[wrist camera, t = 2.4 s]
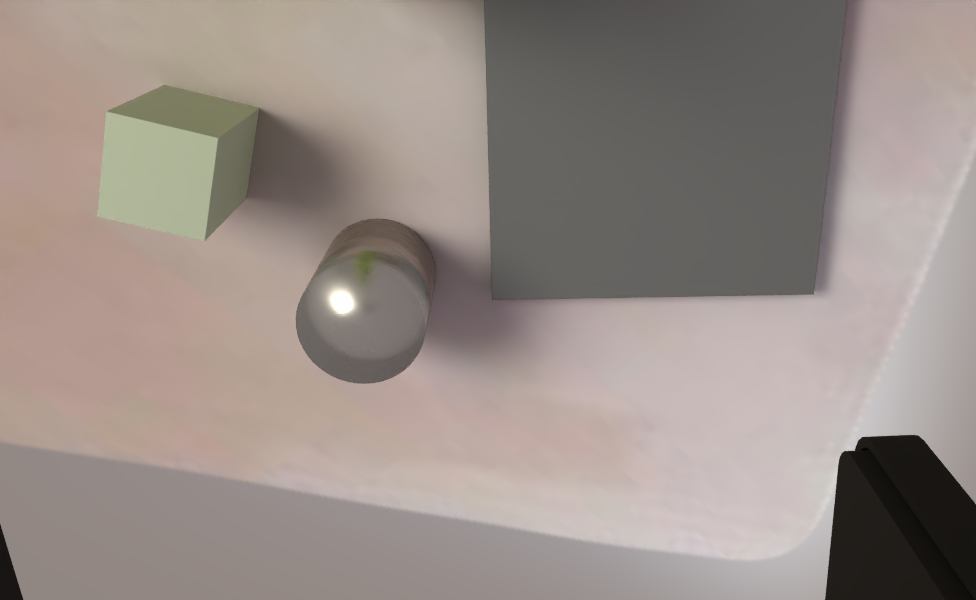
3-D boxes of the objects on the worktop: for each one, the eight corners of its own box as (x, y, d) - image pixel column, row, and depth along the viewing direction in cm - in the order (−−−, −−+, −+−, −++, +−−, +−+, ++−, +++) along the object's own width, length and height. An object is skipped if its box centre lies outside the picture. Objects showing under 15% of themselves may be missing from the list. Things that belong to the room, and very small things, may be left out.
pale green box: (164, 84, 38) (106, 111, 33) (259, 107, 39) (218, 137, 33) (154, 176, 40) (97, 216, 34) (246, 197, 40) (204, 241, 35)
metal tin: (319, 219, 40) (289, 266, 35) (433, 217, 40) (421, 263, 35) (329, 324, 42) (302, 384, 37) (438, 322, 42) (427, 382, 37)
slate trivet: (483, -41, 36) (483, -40, 35) (843, -51, 36) (852, -50, 35) (492, 291, 41) (492, 300, 41) (807, 286, 41) (813, 294, 40)
